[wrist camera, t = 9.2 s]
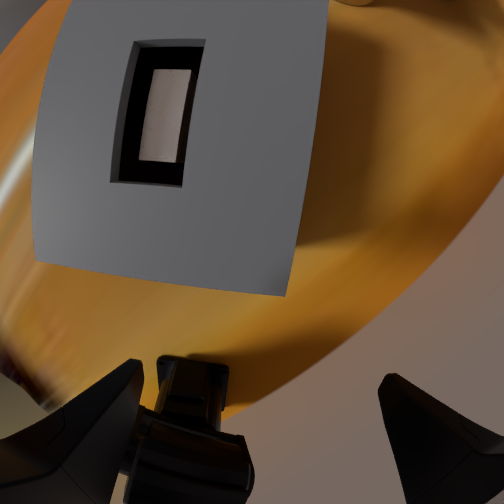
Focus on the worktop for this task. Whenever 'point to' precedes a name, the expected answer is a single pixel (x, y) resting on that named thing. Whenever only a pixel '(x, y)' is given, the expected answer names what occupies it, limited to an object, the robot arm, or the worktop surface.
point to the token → (168, 116)
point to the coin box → (198, 146)
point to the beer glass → (357, 2)
